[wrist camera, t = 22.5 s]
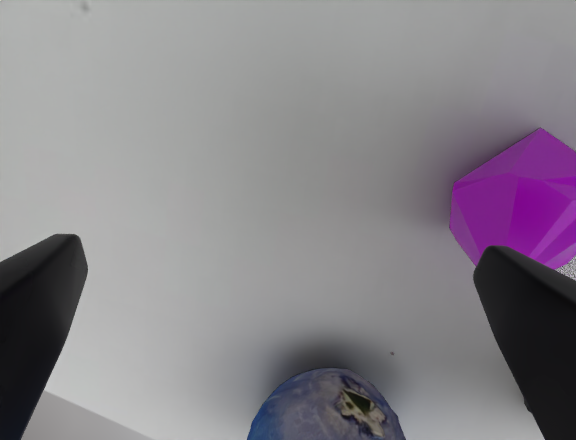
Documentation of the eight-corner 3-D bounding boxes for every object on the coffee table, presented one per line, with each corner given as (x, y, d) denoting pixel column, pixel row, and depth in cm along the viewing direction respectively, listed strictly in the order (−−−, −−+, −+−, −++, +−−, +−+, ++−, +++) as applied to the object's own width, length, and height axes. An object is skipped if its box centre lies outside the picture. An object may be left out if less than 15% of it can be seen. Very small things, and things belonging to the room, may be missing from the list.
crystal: (565, 223, 18) (629, 271, 14) (452, 251, 20) (480, 301, 16) (552, 123, 17) (619, 144, 13) (430, 161, 18) (454, 191, 14)
